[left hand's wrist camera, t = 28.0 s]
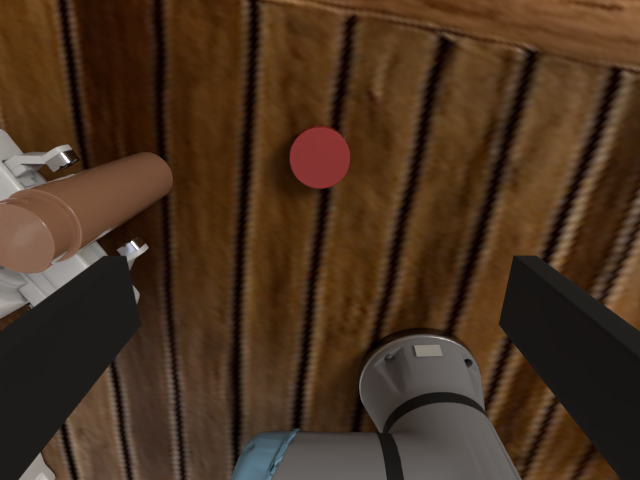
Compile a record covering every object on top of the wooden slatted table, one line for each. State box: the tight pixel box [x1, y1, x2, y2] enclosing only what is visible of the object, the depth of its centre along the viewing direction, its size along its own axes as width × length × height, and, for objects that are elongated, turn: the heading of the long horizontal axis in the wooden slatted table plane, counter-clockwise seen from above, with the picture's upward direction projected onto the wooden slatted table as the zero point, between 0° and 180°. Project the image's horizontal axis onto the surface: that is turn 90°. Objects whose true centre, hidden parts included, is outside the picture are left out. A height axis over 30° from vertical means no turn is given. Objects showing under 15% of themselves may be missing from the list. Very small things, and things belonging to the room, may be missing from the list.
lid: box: [289, 125, 350, 189], centre depth 36 cm, size 6×6×2 cm
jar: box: [0, 152, 173, 274], centre depth 30 cm, size 5×5×18 cm
